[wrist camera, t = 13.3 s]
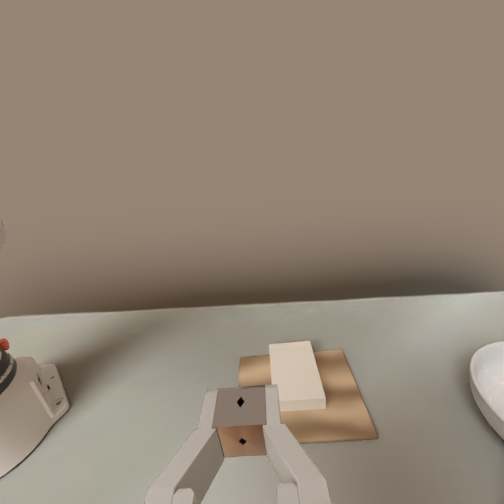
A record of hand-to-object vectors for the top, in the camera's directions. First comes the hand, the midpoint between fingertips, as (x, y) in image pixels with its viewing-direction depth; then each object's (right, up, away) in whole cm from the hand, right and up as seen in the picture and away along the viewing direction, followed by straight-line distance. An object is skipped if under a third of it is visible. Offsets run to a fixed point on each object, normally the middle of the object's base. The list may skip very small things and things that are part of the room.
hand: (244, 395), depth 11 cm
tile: (+8, -18, +29) cm, 34 cm away
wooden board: (+8, -18, +32) cm, 38 cm away
